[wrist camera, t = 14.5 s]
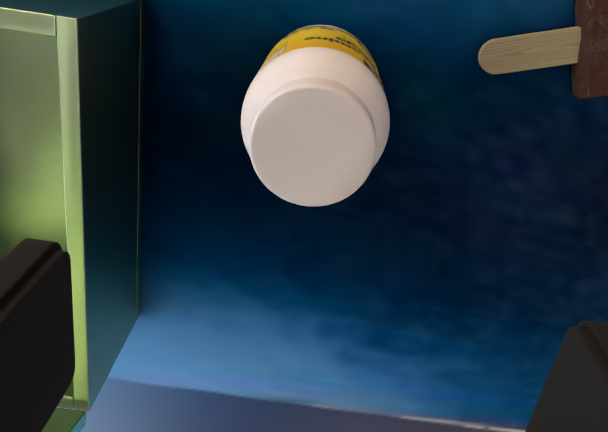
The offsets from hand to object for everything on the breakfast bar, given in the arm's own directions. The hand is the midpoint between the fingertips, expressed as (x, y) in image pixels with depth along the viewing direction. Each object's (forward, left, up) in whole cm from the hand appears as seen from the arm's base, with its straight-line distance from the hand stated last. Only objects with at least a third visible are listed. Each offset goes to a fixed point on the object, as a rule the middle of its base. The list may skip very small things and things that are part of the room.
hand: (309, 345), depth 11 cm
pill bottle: (0, 0, -23) cm, 22 cm away
